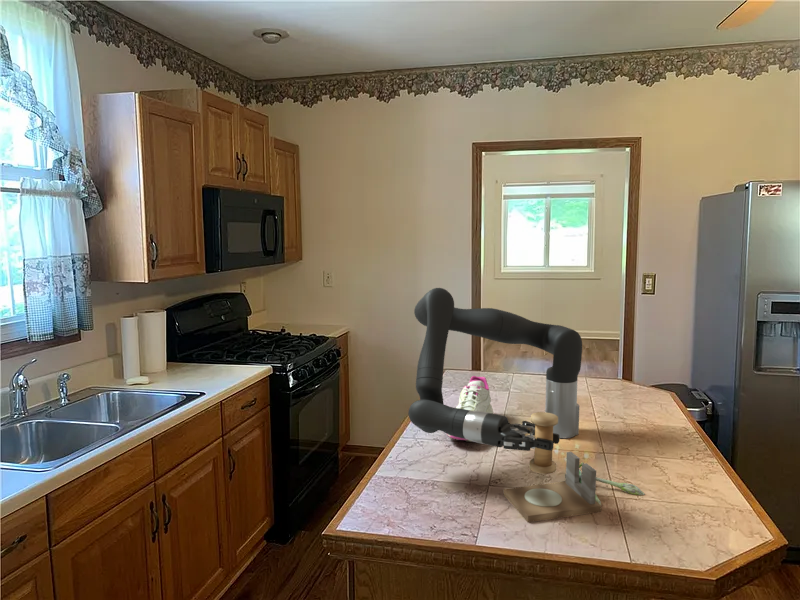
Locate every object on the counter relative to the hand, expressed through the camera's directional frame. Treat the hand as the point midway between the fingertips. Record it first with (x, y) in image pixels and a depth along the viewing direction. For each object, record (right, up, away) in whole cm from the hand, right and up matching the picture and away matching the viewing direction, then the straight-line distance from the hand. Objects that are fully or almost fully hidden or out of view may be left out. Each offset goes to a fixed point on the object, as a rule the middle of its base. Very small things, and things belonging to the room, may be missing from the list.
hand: (555, 442), depth 130 cm
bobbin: (-2, -6, +2) cm, 7 cm away
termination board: (0, -15, +4) cm, 16 cm away
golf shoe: (-13, -9, +51) cm, 54 cm away
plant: (+15, -15, +10) cm, 23 cm away
